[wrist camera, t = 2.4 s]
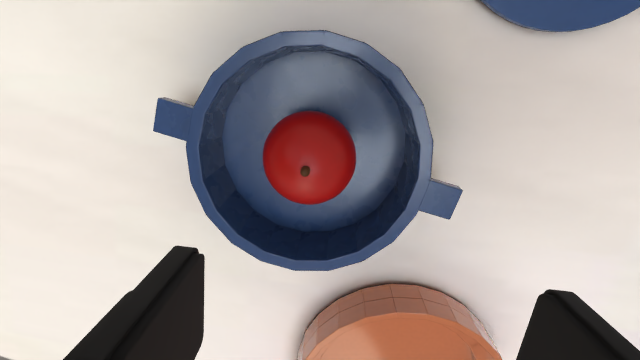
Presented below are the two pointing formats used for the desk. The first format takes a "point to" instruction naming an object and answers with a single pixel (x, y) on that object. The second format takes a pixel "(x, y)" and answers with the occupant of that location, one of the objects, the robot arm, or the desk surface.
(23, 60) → the desk surface
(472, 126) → the desk surface
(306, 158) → the apple
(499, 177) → the desk surface
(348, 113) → the pot
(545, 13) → the pot lid
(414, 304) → the fruit bowl
